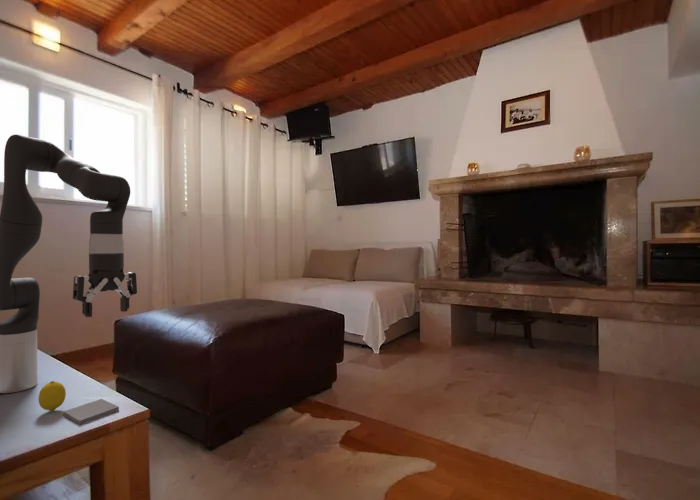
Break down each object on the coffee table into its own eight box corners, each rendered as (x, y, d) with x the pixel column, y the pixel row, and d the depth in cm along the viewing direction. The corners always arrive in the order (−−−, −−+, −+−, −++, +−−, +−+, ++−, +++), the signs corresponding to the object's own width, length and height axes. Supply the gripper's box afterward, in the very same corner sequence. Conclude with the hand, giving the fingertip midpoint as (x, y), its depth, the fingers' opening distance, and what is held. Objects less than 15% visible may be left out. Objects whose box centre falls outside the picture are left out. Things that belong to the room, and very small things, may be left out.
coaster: (63, 415, 94) (63, 411, 94) (101, 402, 101) (101, 398, 101) (79, 424, 89) (79, 420, 89) (118, 410, 97) (118, 406, 97)
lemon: (62, 404, 100) (62, 375, 99) (68, 410, 96) (68, 380, 96) (36, 411, 95) (36, 381, 95) (41, 418, 92) (41, 387, 92)
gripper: (127, 250, 102) (127, 308, 103) (67, 251, 90) (67, 317, 90) (142, 251, 98) (142, 311, 99) (82, 252, 86) (82, 320, 87)
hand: (106, 314), depth 95 cm, fingers open, 8 cm apart
